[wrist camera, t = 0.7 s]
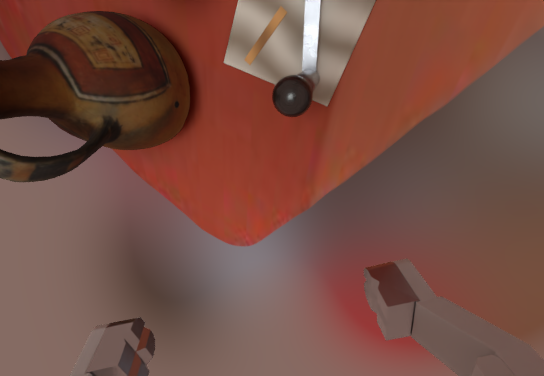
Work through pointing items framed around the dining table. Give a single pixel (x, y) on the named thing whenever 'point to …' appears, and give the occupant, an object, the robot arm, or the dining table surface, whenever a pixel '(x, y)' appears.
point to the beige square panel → (295, 39)
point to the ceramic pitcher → (94, 89)
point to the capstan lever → (298, 88)
